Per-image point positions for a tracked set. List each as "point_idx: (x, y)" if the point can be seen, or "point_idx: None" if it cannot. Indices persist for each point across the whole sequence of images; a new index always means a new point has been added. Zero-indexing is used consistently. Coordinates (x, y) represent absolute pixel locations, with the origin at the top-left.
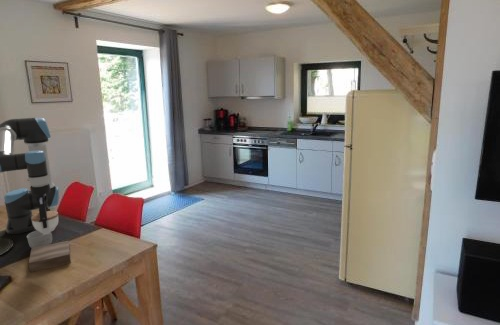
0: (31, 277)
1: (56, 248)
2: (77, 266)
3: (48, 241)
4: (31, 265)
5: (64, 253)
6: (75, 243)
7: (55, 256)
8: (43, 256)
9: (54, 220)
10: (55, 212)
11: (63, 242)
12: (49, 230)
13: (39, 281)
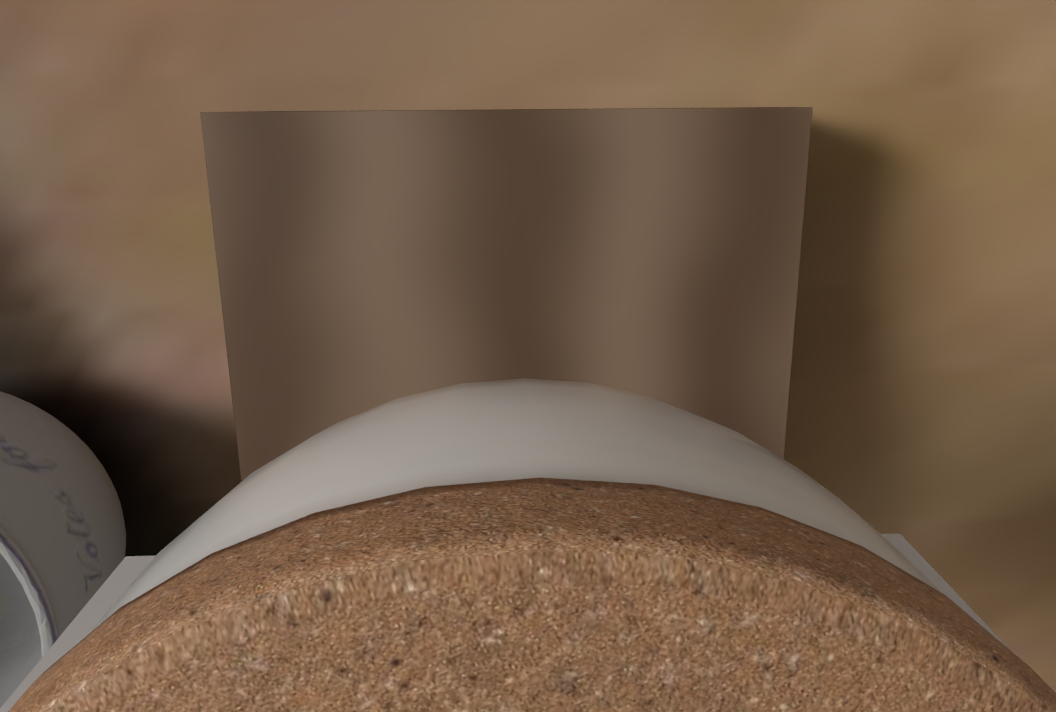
0: None
1: (463, 312)
2: (934, 15)
3: (42, 440)
4: None
5: (736, 185)
6: (73, 23)
7: (767, 316)
8: None
9: (911, 569)
10: (430, 692)
11: (253, 207)
12: (947, 585)
13: (1026, 451)
